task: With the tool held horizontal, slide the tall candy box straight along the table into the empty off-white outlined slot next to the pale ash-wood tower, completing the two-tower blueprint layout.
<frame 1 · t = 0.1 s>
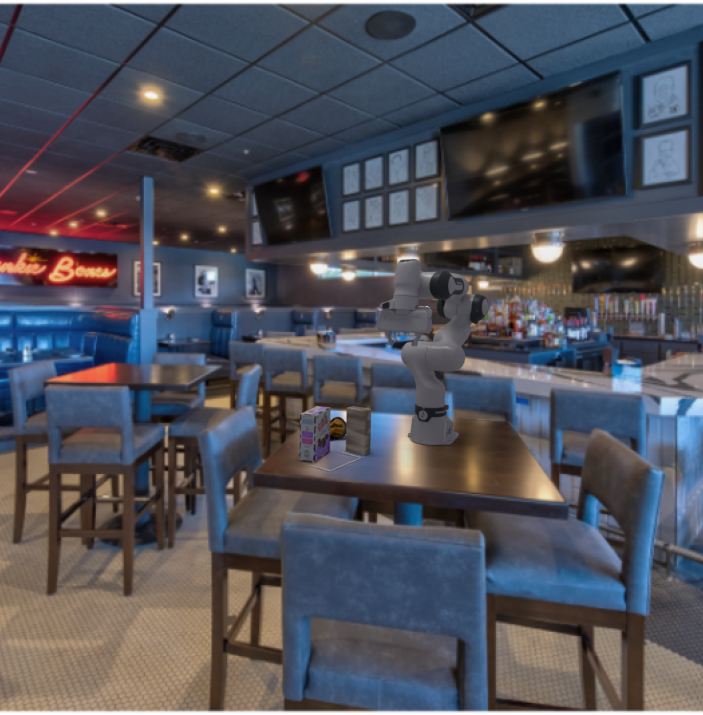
hand: (402, 345, 162), 39 cm above the table, tool pointing down, fingers open, 8 cm apart
slot outline: (335, 461, 158), on the table
fried shrimp in bowl: (328, 440, 183), on the table
candy box: (315, 456, 163), on the table
ash tower: (358, 452, 168), on the table
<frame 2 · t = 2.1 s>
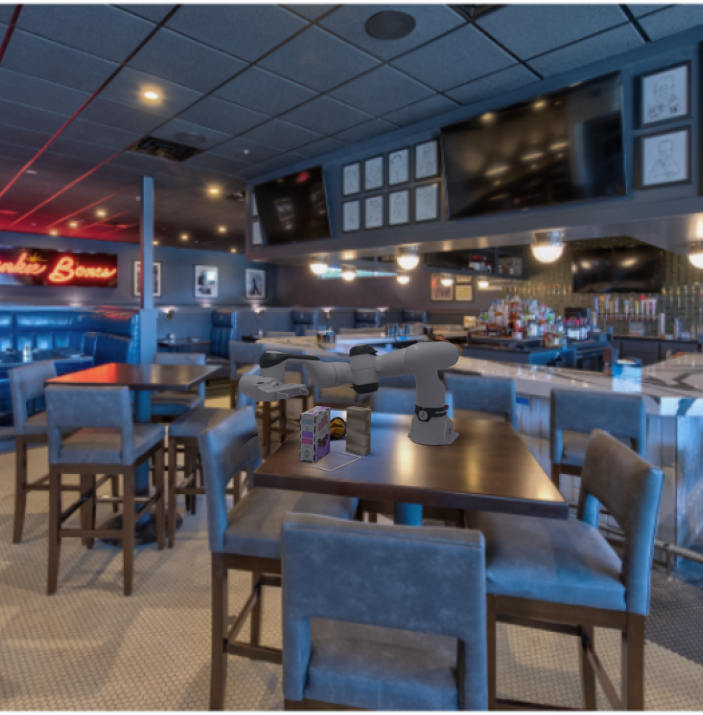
hand: (298, 394, 166), 20 cm above the table, tool horizontal, fingers open, 8 cm apart
nothing on the table moved.
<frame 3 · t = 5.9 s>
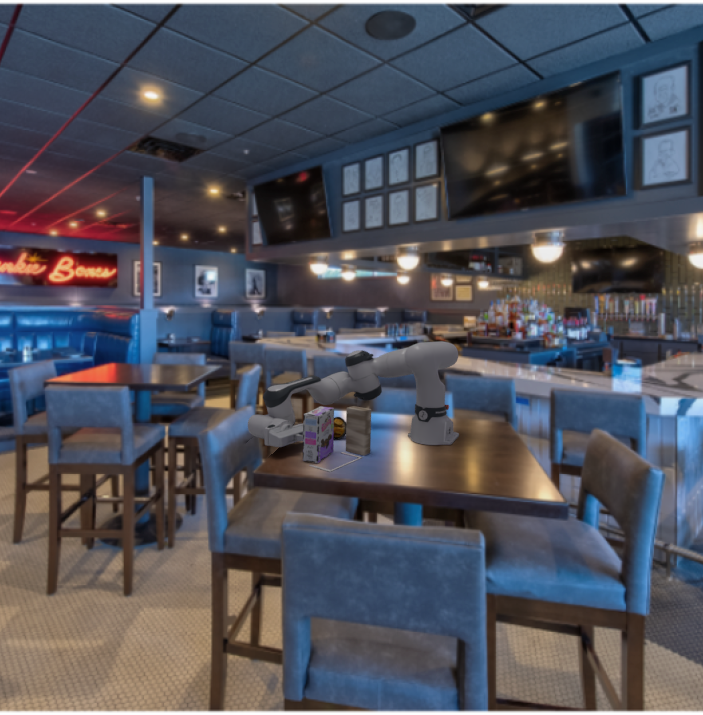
hand: (310, 438, 163), 6 cm above the table, tool horizontal, fingers closed
candy box: (318, 457, 162), on the table, touching gripper
everything else where it was.
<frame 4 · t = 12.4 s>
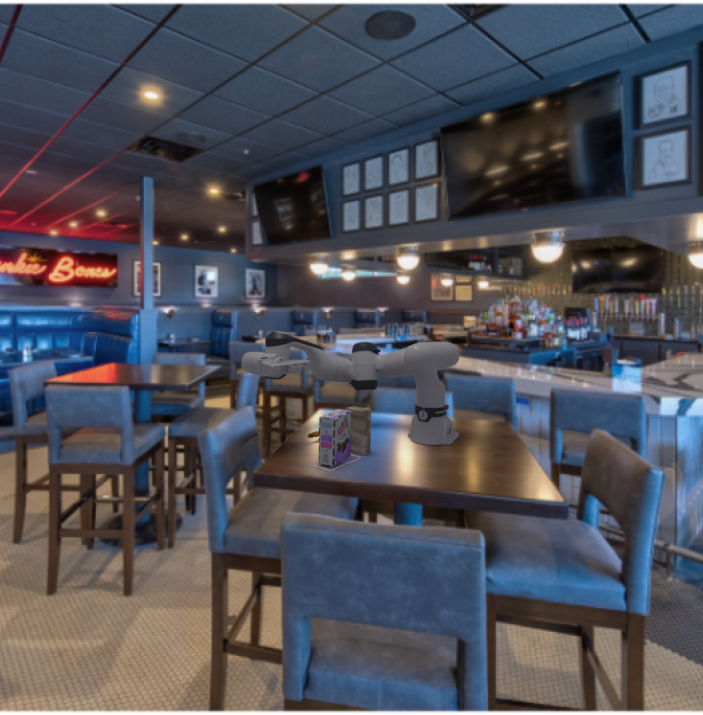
hand: (303, 369, 163), 30 cm above the table, tool horizontal, fingers closed
candy box: (335, 461, 159), on the table
everything else where it was.
at the end: candy box 1.1 cm from the target spot, on the table; candy box tilted 0°; the gripper is holding nothing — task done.
